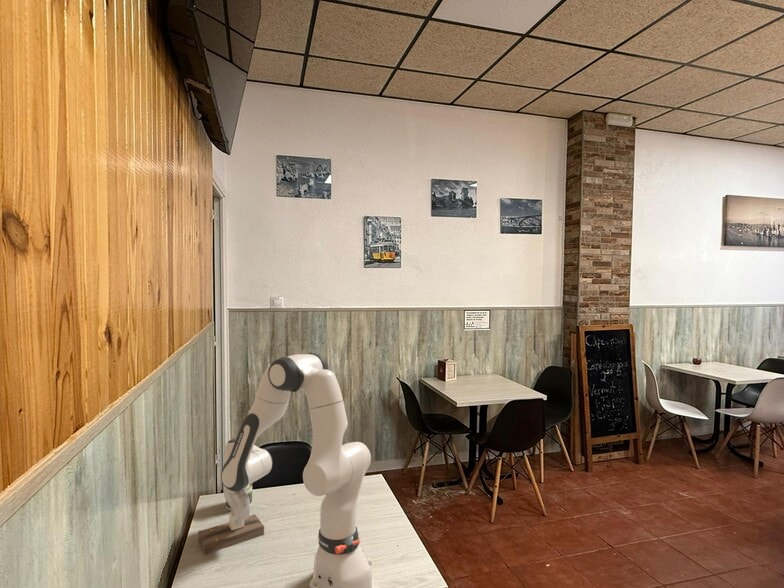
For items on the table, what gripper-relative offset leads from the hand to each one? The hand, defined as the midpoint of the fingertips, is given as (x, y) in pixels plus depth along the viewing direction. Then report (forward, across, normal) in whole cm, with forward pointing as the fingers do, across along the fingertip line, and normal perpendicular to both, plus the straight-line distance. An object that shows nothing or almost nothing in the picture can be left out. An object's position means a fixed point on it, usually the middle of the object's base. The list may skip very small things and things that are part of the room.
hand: (236, 521), depth 148 cm
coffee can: (+5, +22, -7) cm, 24 cm away
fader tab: (+2, 0, 0) cm, 2 cm away
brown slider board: (+5, 0, +2) cm, 5 cm away
